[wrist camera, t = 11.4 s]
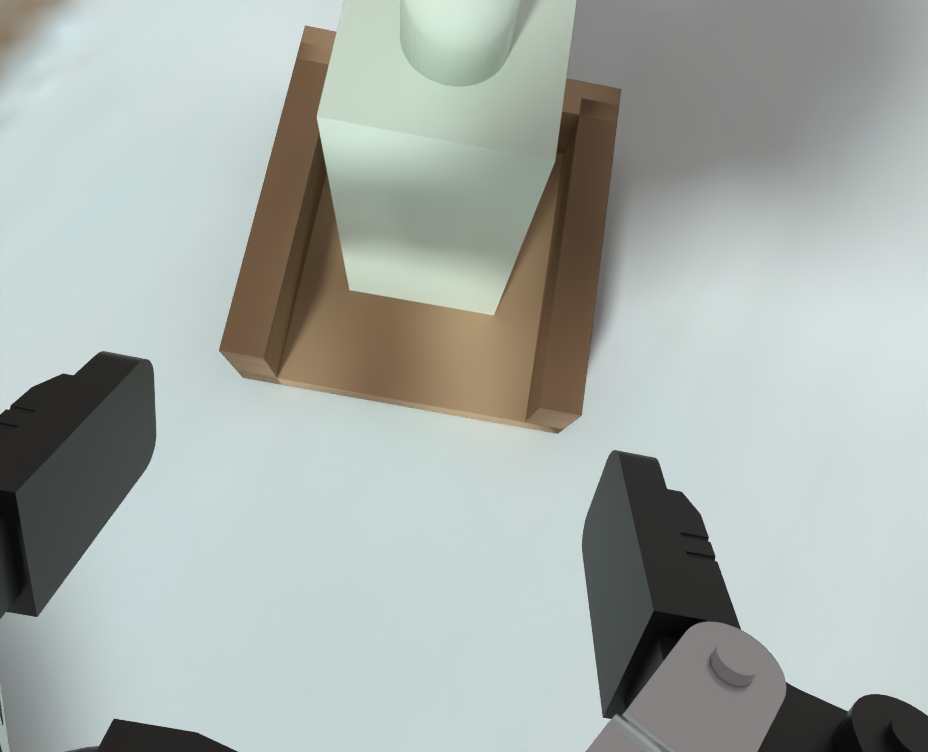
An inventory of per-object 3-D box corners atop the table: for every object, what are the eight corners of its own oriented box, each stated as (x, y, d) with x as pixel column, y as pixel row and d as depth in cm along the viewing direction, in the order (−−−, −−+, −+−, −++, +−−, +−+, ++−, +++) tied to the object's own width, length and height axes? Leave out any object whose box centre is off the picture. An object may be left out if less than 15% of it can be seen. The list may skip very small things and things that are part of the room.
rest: (595, 143, 25) (621, 89, 22) (557, 433, 22) (581, 415, 19) (316, 88, 24) (305, 25, 22) (242, 377, 22) (218, 350, 19)
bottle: (513, 186, 23) (634, -203, 11) (494, 315, 22) (605, 33, 10) (376, 161, 23) (351, -263, 11) (349, 290, 22) (289, -28, 10)
